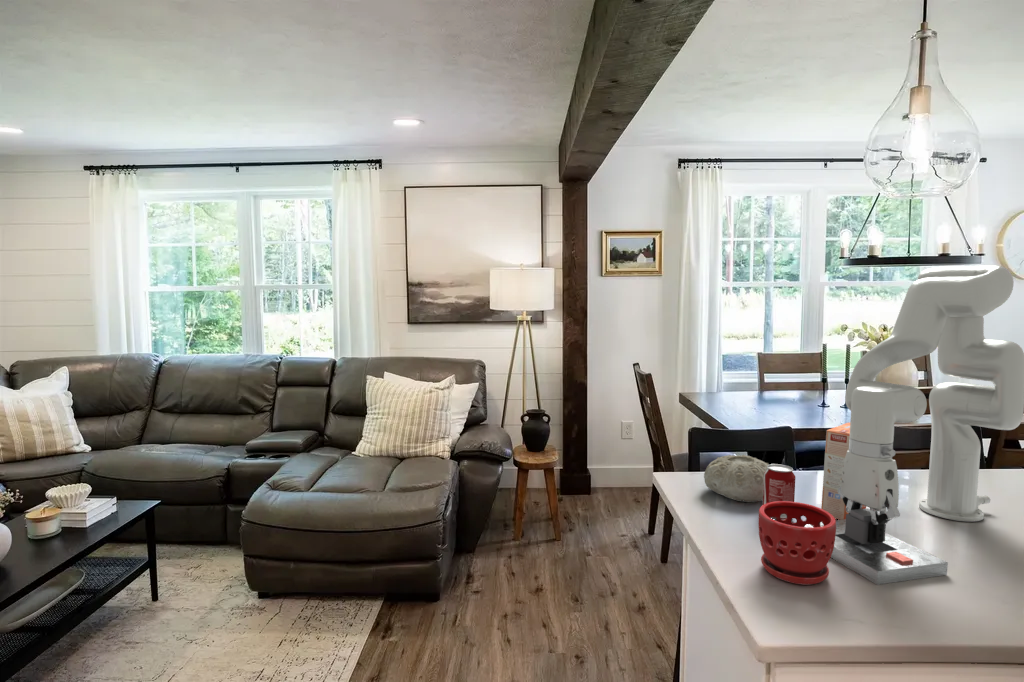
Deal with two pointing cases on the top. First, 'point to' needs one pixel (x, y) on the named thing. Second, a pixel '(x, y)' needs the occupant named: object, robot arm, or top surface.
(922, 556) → the socket
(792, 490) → the soda can
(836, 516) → the cracker box
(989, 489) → the top surface
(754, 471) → the decorative shell
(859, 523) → the plug
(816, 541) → the plant pot
